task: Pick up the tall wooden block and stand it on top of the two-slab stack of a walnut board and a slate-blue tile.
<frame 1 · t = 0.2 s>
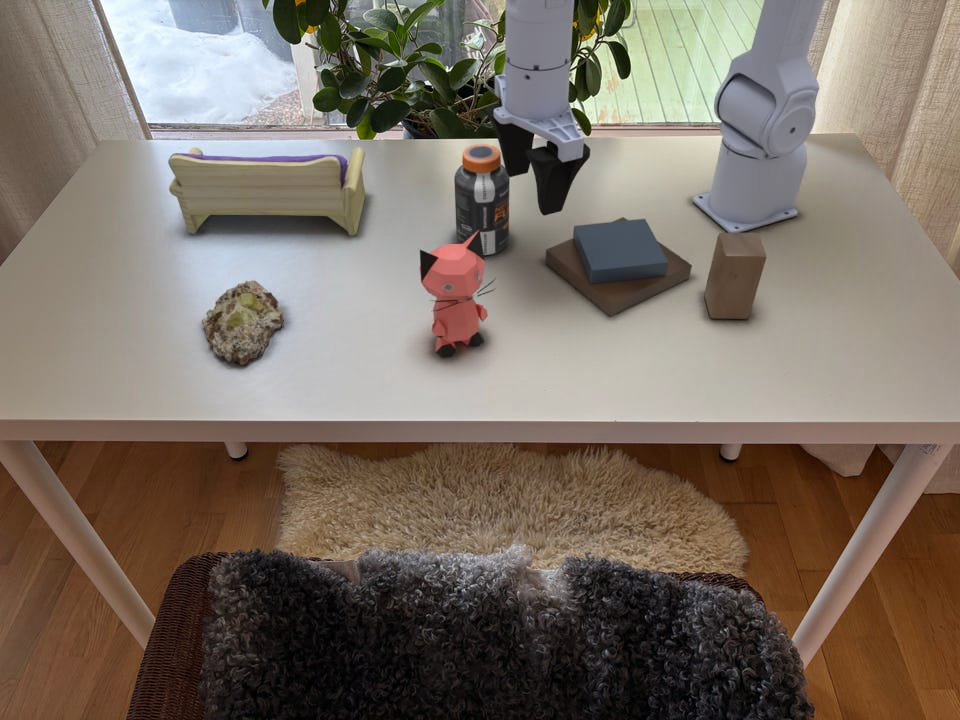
hand: (533, 192, 77), 10 cm above the table, tool pointing down, fingers open, 7 cm apart
wooden block: (725, 308, 79), on the table
base slab: (616, 270, 84), on the table, touching top tile
mineral rock: (244, 332, 78), on the table
cat figurine: (455, 340, 77), on the table
top tile: (617, 257, 83), point 2 cm above the table, touching base slab
toy sofa: (280, 217, 93), on the table
pill bottle: (482, 242, 88), on the table
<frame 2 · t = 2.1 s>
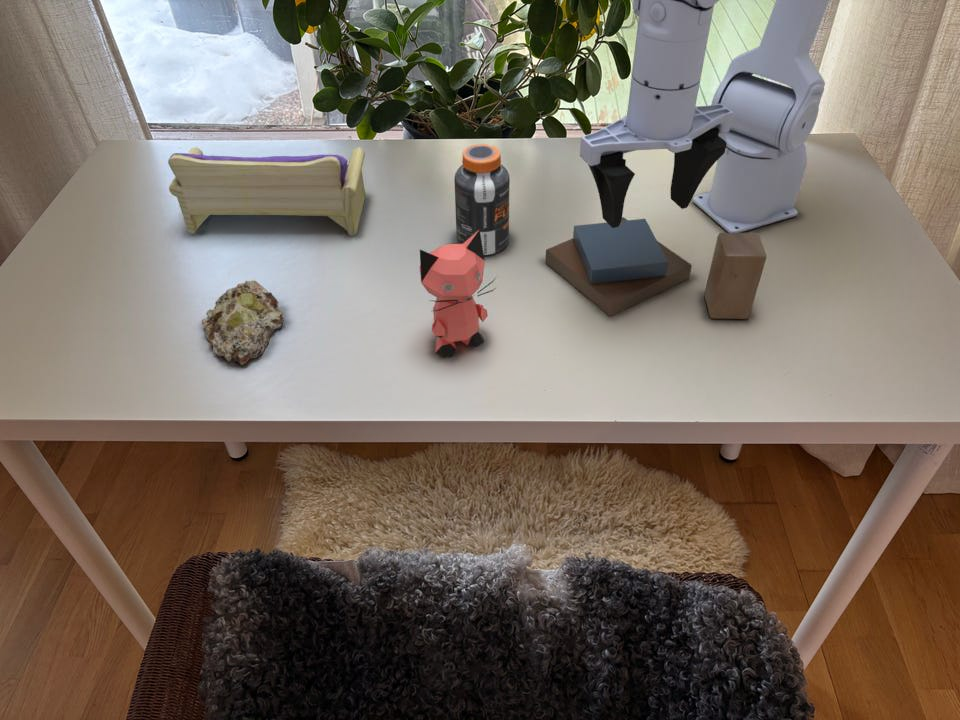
hand: (645, 212, 75), 10 cm above the table, tool pointing down, fingers open, 7 cm apart
nothing on the table moved.
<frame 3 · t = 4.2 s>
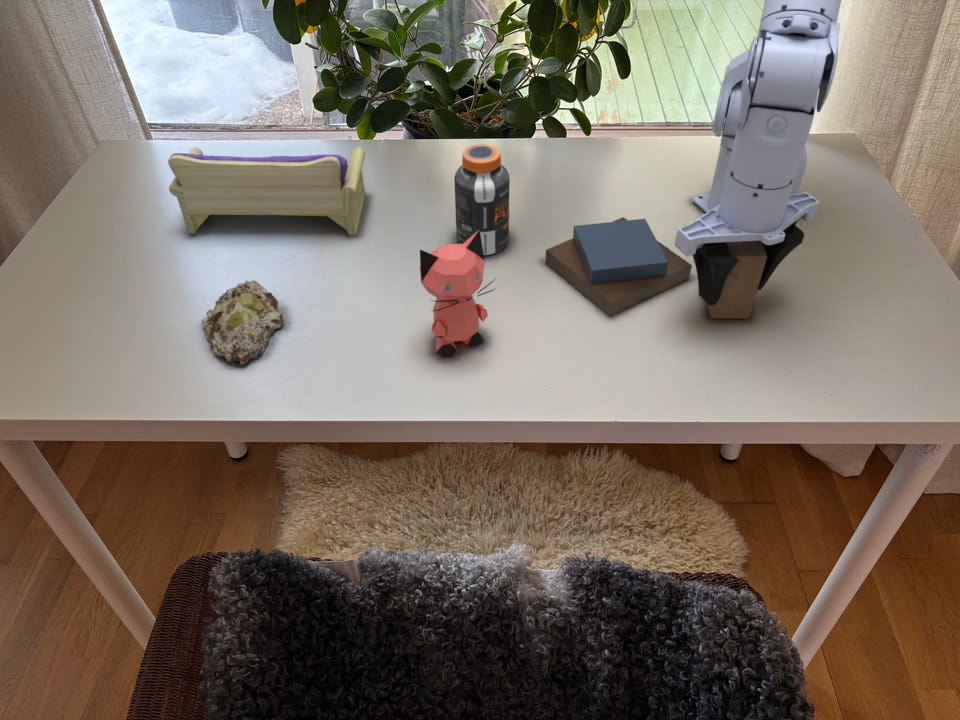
hand: (729, 292, 78), 2 cm above the table, tool pointing down, fingers closed on wooden block, 5 cm apart
wooden block: (725, 308, 79), on the table, touching gripper
everything else where it was.
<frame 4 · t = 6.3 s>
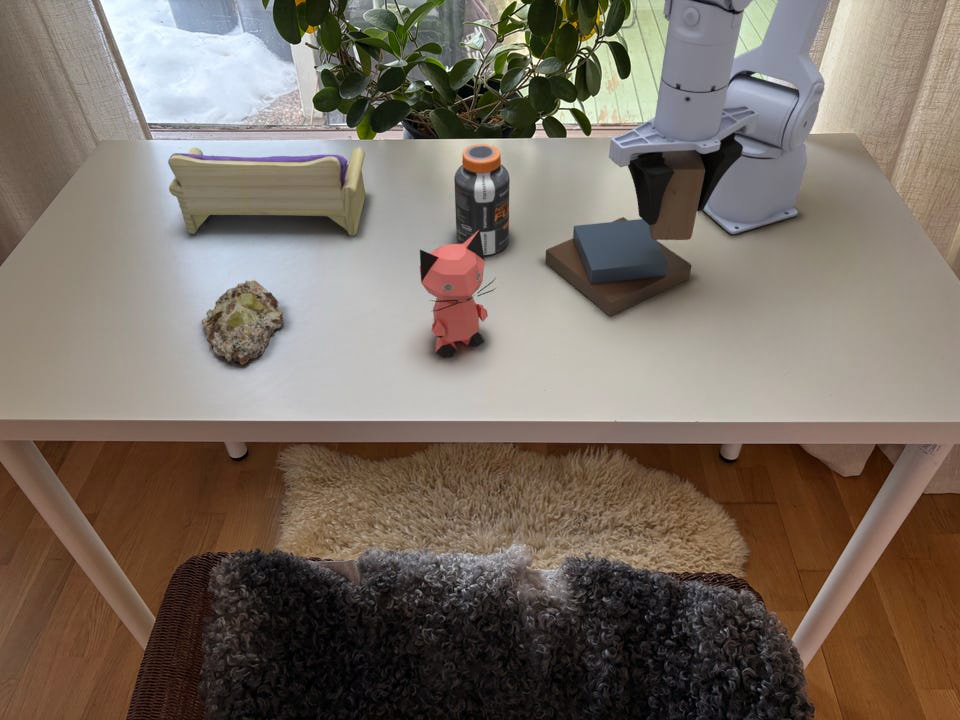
hand: (670, 212, 76), 9 cm above the table, tool pointing down, fingers closed on wooden block, 5 cm apart
wooden block: (668, 231, 77), point 7 cm above the table, touching gripper
everything else where it was.
when the fingers open (6 cm above the table, at t = 8.3 s): wooden block stays where it is, resting on top tile.
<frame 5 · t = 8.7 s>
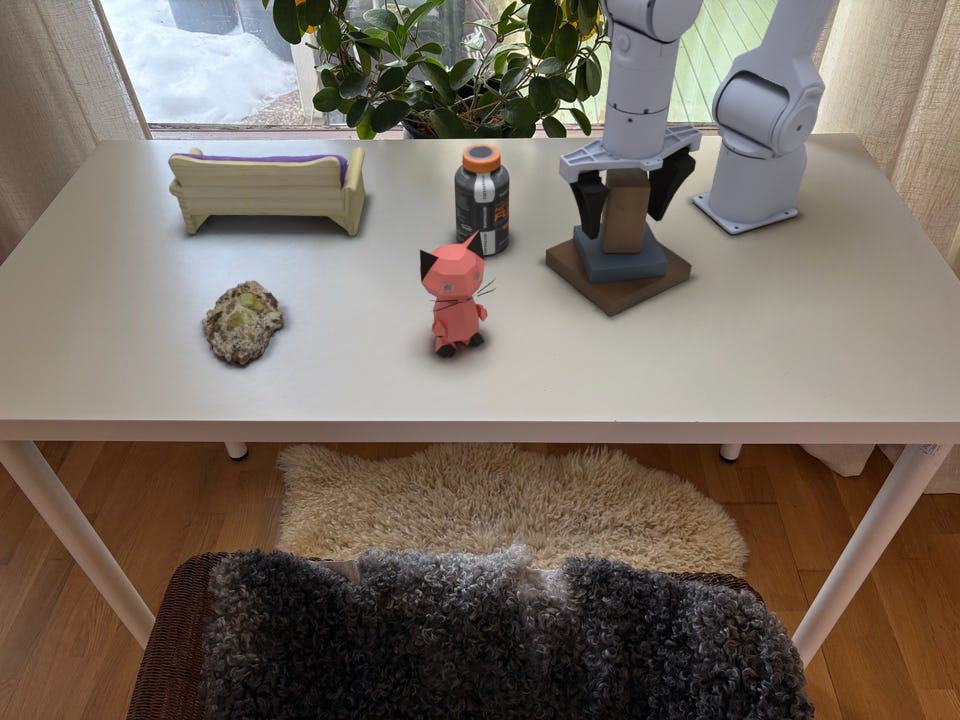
hand: (622, 225, 80), 6 cm above the table, tool pointing down, fingers open, 7 cm apart
wooden block: (619, 244, 82), point 3 cm above the table, touching top tile
top tile: (617, 257, 83), point 2 cm above the table, touching base slab, wooden block
everything else where it was.
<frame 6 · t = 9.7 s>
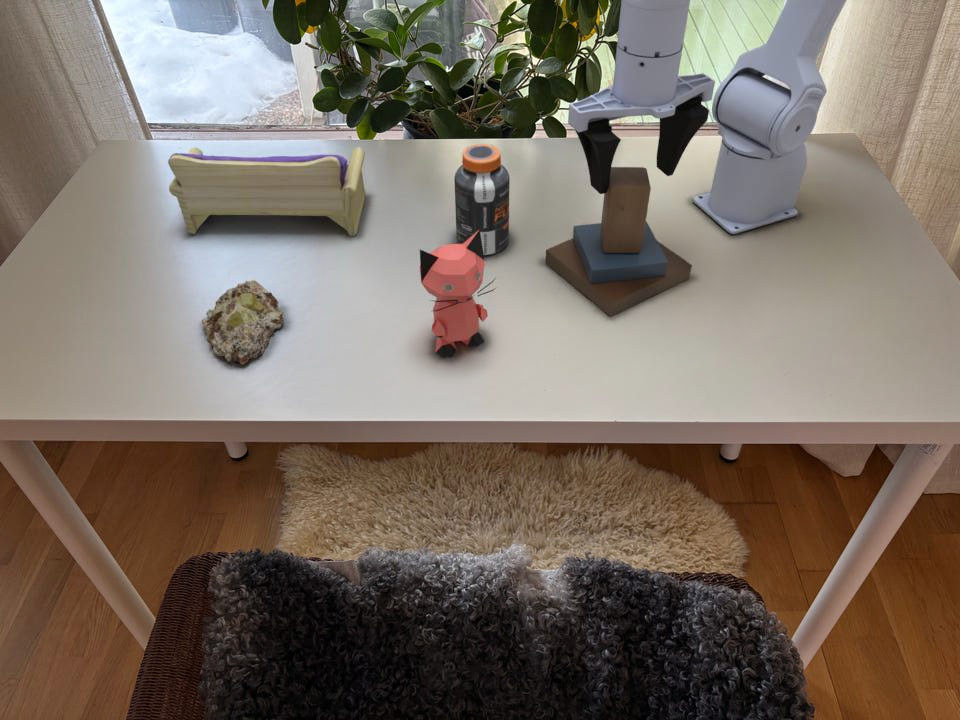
hand: (632, 179, 78), 10 cm above the table, tool pointing down, fingers open, 7 cm apart
wooden block: (619, 244, 82), point 3 cm above the table, touching gripper, top tile
everything else where it was.
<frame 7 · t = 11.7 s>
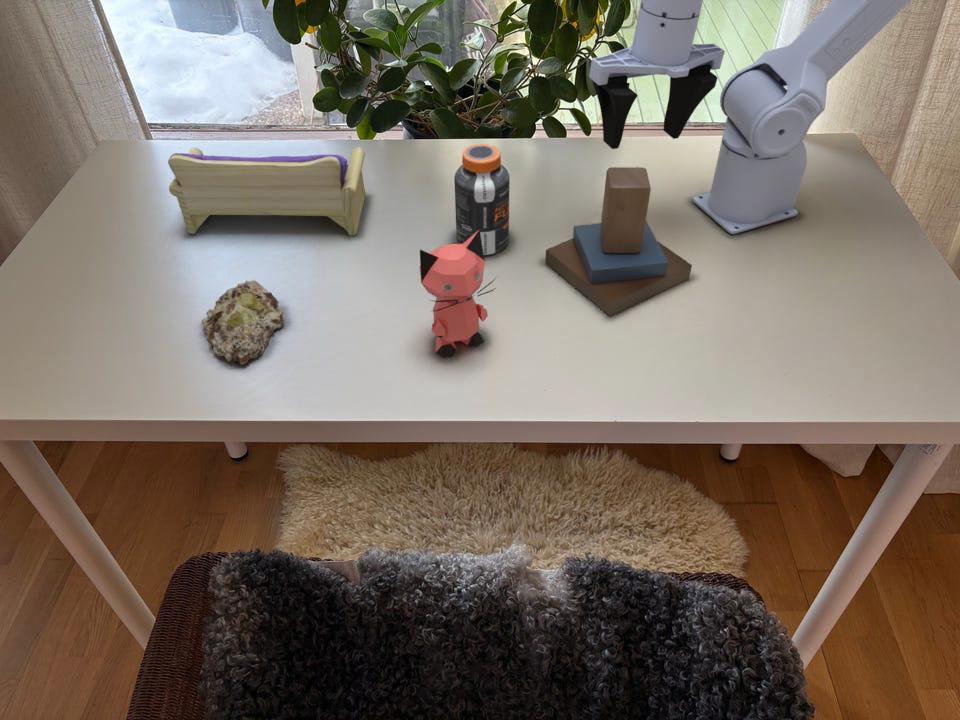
hand: (641, 139, 83), 10 cm above the table, tool pointing down, fingers open, 7 cm apart
wooden block: (619, 244, 82), point 3 cm above the table, touching top tile
everything else where it was.
at the end: wooden block 0.0 cm off-centre on the top tile, point 1.6 cm above the top tile's base; wooden block tilted 0°; the gripper is holding nothing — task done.
